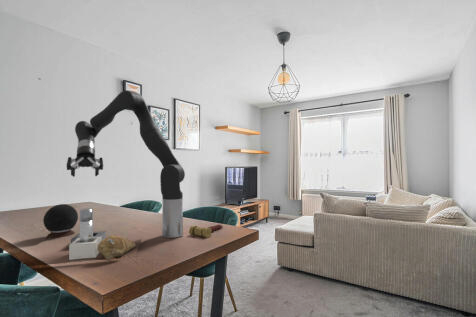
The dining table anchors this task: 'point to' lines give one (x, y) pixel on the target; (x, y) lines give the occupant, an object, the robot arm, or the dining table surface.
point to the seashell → (114, 246)
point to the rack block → (84, 249)
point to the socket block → (95, 234)
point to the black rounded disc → (60, 221)
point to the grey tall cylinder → (86, 225)
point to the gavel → (204, 230)
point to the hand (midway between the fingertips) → (85, 175)
